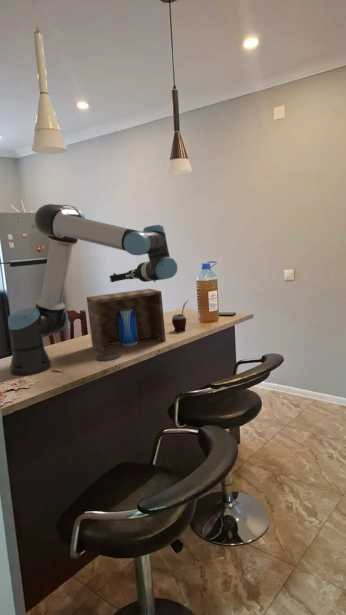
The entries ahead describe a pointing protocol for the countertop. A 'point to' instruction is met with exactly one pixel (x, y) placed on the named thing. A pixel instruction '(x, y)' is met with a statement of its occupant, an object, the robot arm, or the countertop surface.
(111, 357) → the coaster
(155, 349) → the countertop surface
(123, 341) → the beer can
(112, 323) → the cubby
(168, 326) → the countertop surface
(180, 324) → the mate gourd
